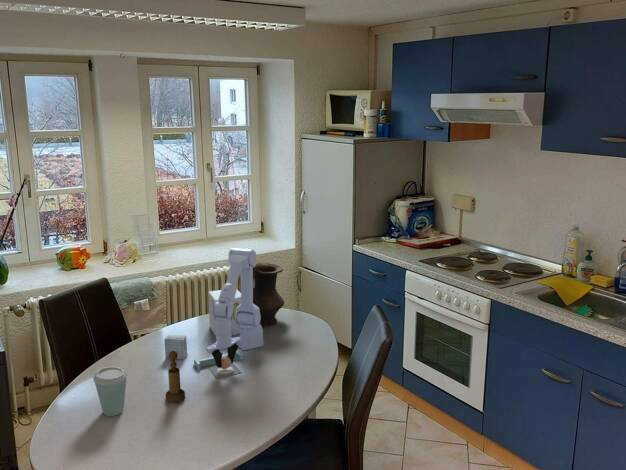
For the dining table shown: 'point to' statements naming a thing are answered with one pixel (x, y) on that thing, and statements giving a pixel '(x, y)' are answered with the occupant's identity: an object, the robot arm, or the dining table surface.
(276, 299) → the jug
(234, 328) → the supplement box
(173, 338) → the medicine box
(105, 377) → the disposable coffee cup
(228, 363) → the ball
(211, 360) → the divider wall
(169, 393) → the brown wooden tall figure
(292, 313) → the dining table surface
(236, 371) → the resting mat
